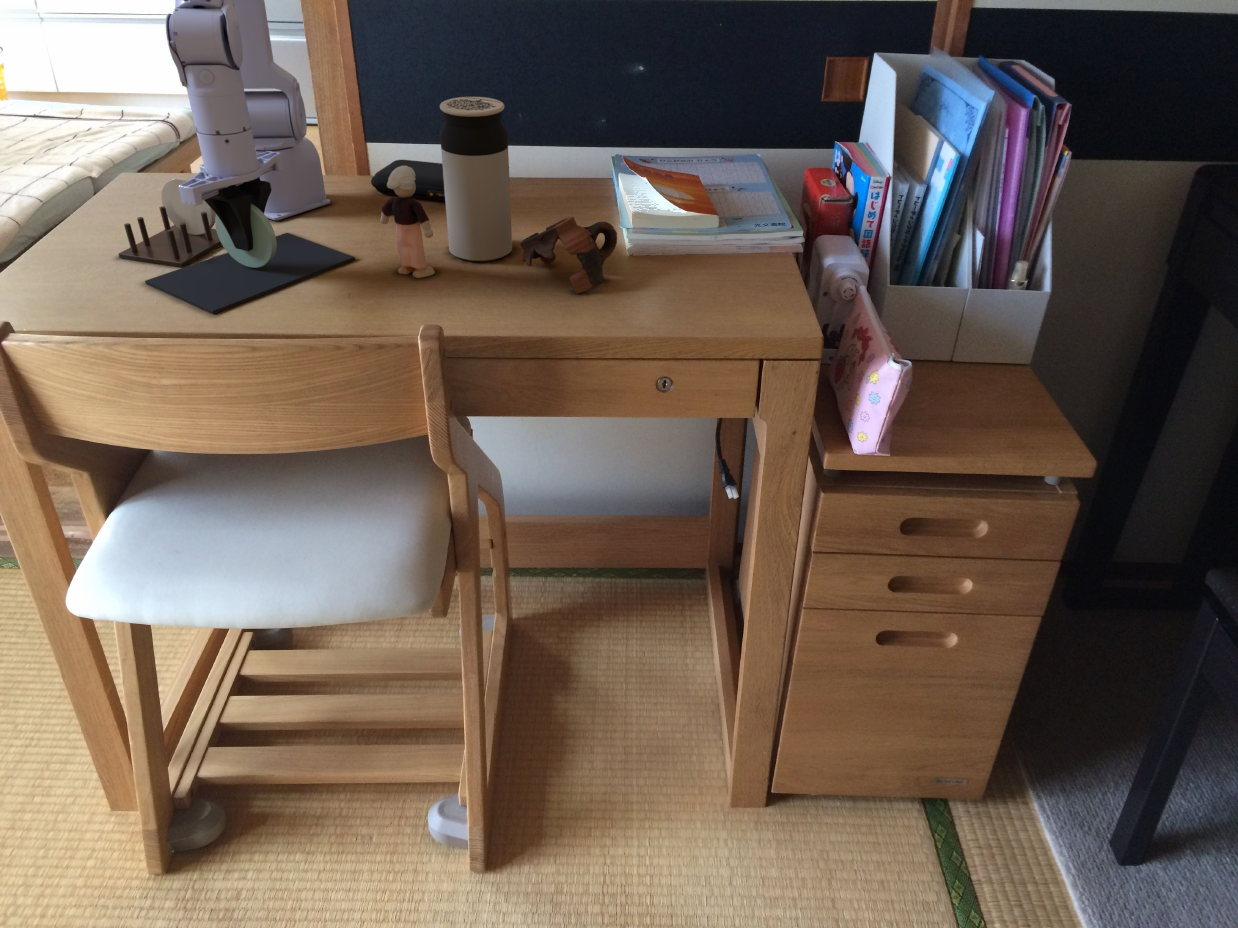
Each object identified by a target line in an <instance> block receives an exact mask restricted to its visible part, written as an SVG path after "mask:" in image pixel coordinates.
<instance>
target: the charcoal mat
mask: <svg viewBox="0 0 1238 928" xmlns="http://www.w3.org/2000/svg"><path fill="white" fill-rule="evenodd" d="M275 236H276V241H277V249H276V254H275V256H274V258H273V259H272V261H271V262H269V263H268V264H266V265H264V266H262V267H258V268H252V267H247V266H245V265H243V264H241V263H239V262H238V261H236V260H235V259H234V258H233V257H231V256H230V254H229V253H228V252H225V253H223V254H219V255H217V256H214V257H211V258H208V259H204V260H202V261H199V262H196V263H193V264H189V265H186V266H185V267H180V268H178V269H175V270H172V271H169V272H166V273H163V274H161V275H159V276H158V275H157V276H154V277H152V278H148V279H145V280H144V282H145V285H147V286H149V287H151V288H154V289H156V290H159V291H162V292H163V293H166V294H167V295H170V296H172V297H174V298H176V299H178V300H181V301H183V302H185V303H187V304H189V305H191V306H194V307H197V308H199V309H201V310H203V311H205V312H207V313H210V314H211V315H216V314H217V313H221V312H223V311H225V310H229V309H231V308H234V307H236V306H239V305H242V304H244V303H246V302H249V301H252V300H255V299H256V298H259V297H261V296H264V295H267V294H270V293H273V292H275V291H278V290H281V289H283V288H286V287H288V286H290V285H291V286H292V284H296V283H298V282H301V281H303V280H306V279H308V278H311V277H314V276H317V275H320V274H322V273H325V272H327V271H330V270H332V269H335V268H337V267H340V266H343V265H345V264H347V263H350V262H352V261H355V260H356V258H355V257H356V256H353V255H351V254H347V253H345V252H342V251H339V250H336V249H335V248H332V247H328V246H326V245H322V244H320V243H317V242H314V241H311V240H309V239H306V238H304V237H301V236H298V235H295V234H292V233H289V232H285V233H282V234H279V235H275Z"/></svg>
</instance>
